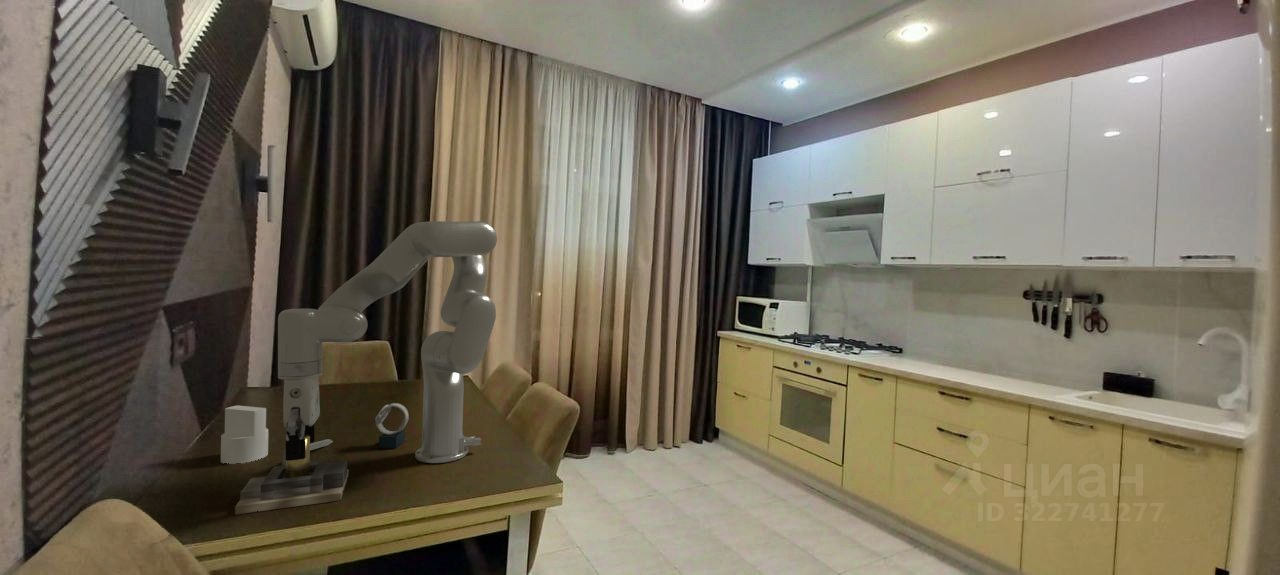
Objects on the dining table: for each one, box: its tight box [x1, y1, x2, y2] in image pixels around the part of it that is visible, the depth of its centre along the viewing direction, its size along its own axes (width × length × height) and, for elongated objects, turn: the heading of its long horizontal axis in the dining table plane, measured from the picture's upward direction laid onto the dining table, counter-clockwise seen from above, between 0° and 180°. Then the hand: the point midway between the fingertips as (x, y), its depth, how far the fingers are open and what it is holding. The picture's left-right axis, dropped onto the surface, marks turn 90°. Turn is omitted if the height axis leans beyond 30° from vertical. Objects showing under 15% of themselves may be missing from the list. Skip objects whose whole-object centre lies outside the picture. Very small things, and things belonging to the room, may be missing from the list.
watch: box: [374, 402, 410, 450], centre depth 131 cm, size 6×8×11 cm
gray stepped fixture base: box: [234, 460, 350, 516], centre depth 101 cm, size 17×13×4 cm
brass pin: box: [286, 435, 311, 478], centre depth 101 cm, size 4×4×10 cm
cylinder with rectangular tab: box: [220, 405, 269, 465], centre depth 119 cm, size 9×9×12 cm
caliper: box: [282, 438, 334, 465], centre depth 122 cm, size 20×1×6 cm, turn 6°
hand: (300, 451), depth 101 cm, fingers open, 9 cm apart
